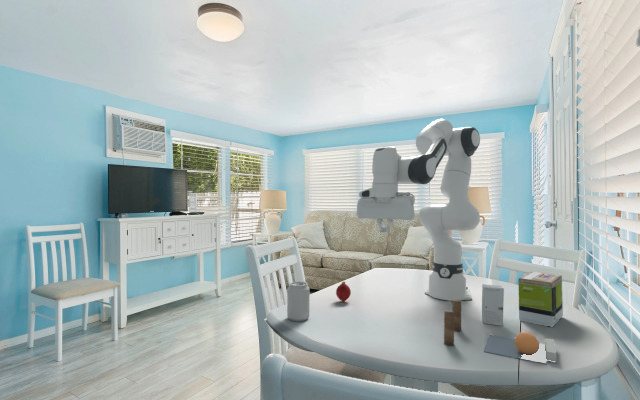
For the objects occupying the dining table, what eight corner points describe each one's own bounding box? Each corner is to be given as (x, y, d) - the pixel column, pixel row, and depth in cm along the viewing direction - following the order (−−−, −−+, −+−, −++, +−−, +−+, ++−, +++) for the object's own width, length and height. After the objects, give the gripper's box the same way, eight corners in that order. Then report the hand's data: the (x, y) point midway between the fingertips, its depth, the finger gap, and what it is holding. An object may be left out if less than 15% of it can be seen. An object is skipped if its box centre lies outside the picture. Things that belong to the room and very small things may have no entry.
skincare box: (483, 324, 114) (483, 286, 114) (481, 319, 118) (481, 283, 119) (504, 326, 112) (504, 288, 112) (501, 321, 117) (501, 285, 117)
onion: (349, 304, 136) (349, 283, 136) (335, 303, 137) (335, 282, 137) (351, 300, 141) (351, 280, 141) (337, 299, 142) (337, 279, 142)
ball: (509, 338, 96) (522, 324, 94) (529, 352, 94) (542, 338, 92) (510, 348, 91) (524, 334, 89) (530, 363, 89) (545, 349, 87)
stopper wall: (544, 347, 96) (544, 338, 96) (553, 348, 95) (553, 339, 95) (546, 361, 87) (546, 351, 87) (556, 363, 86) (556, 353, 86)
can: (312, 316, 121) (312, 281, 121) (304, 323, 114) (304, 286, 114) (292, 313, 123) (292, 279, 123) (283, 320, 116) (283, 284, 116)
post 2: (453, 327, 110) (453, 299, 110) (461, 329, 109) (461, 300, 109) (451, 330, 108) (451, 301, 108) (460, 332, 107) (460, 302, 107)
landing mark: (488, 334, 105) (488, 334, 105) (544, 344, 98) (544, 344, 98) (484, 351, 93) (484, 351, 93) (547, 364, 86) (547, 363, 86)
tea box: (530, 311, 128) (530, 270, 128) (563, 317, 121) (563, 275, 121) (517, 320, 118) (518, 276, 118) (552, 328, 111) (553, 281, 111)
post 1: (445, 341, 100) (445, 309, 100) (454, 343, 98) (454, 311, 98) (443, 344, 97) (443, 312, 97) (453, 346, 96) (453, 313, 96)
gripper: (417, 192, 120) (417, 233, 119) (362, 193, 130) (361, 230, 130) (411, 192, 114) (411, 234, 114) (354, 192, 125) (354, 231, 124)
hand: (384, 232), depth 122 cm, fingers closed
